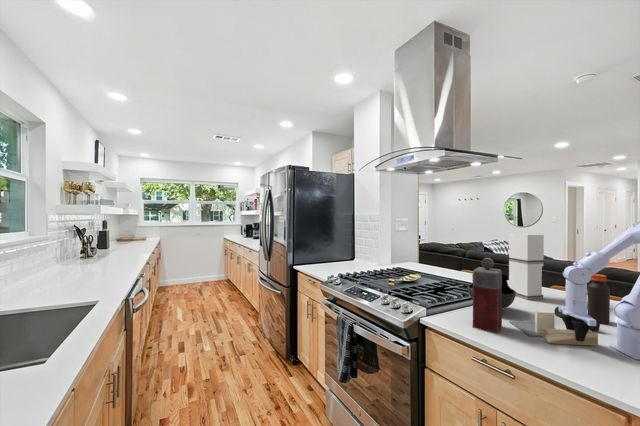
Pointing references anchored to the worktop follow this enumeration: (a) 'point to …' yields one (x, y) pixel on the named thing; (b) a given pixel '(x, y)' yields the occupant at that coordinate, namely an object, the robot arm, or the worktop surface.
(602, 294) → the bottle
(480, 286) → the pepper grinder
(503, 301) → the bowl of black rocks
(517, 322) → the mat
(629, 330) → the robot arm
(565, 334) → the tan wooden plank
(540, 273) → the banded white pillar
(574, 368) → the worktop surface
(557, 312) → the brown wooden log
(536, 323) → the tile
